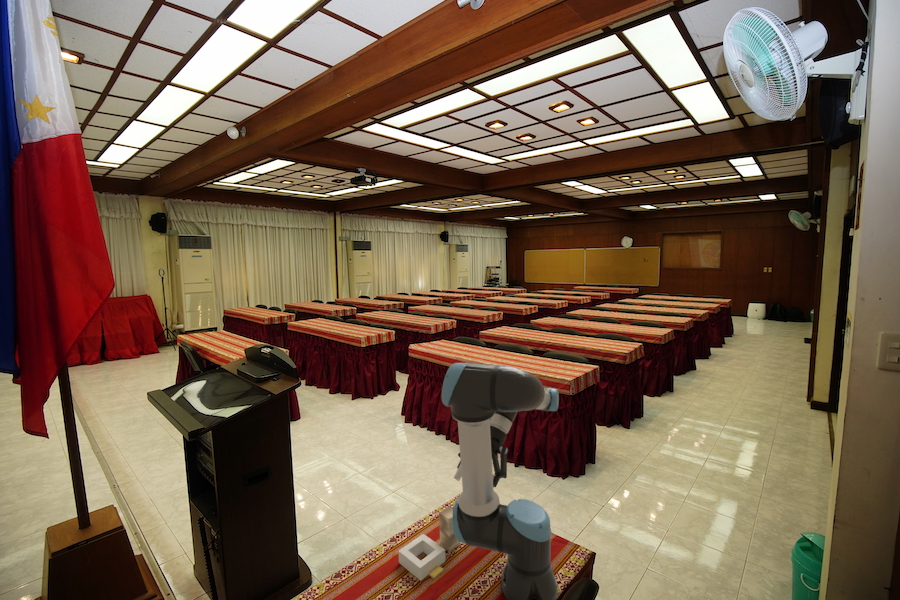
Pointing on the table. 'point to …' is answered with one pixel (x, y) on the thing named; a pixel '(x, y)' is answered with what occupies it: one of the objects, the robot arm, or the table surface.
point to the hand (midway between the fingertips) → (470, 487)
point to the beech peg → (447, 530)
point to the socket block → (426, 565)
